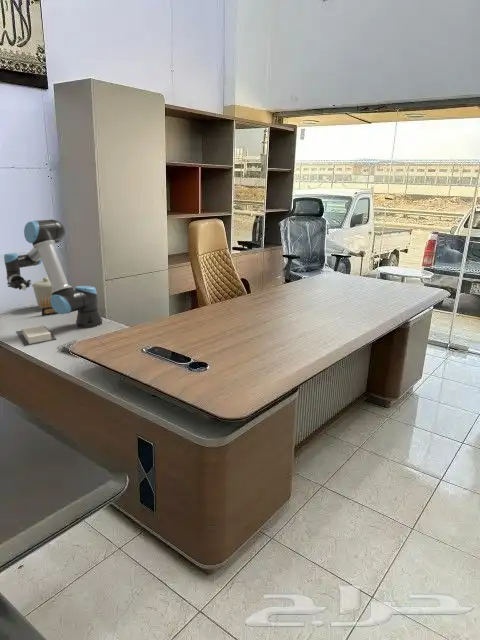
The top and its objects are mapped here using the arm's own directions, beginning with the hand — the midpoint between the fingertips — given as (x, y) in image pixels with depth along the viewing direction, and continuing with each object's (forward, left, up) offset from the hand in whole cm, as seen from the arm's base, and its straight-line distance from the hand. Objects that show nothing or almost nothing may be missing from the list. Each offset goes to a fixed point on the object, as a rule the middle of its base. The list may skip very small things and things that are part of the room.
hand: (24, 287), depth 246 cm
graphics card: (-49, +14, -26) cm, 57 cm away
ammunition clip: (+15, -28, -25) cm, 41 cm away
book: (-7, +4, -23) cm, 24 cm away
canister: (+29, -40, -25) cm, 56 cm away
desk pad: (-11, +6, -25) cm, 28 cm away
